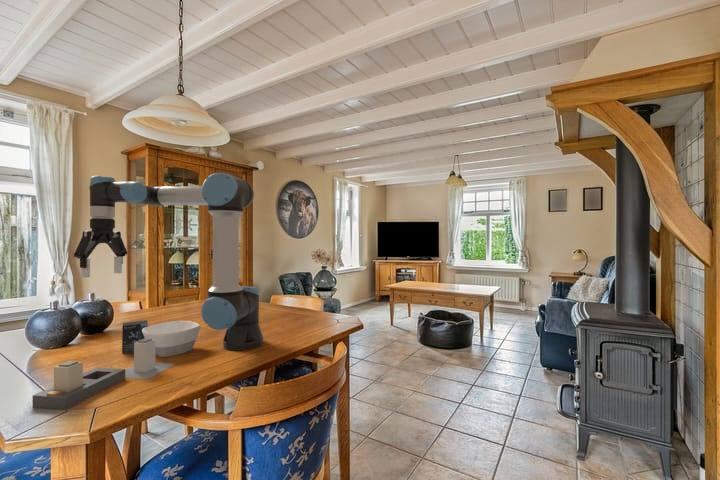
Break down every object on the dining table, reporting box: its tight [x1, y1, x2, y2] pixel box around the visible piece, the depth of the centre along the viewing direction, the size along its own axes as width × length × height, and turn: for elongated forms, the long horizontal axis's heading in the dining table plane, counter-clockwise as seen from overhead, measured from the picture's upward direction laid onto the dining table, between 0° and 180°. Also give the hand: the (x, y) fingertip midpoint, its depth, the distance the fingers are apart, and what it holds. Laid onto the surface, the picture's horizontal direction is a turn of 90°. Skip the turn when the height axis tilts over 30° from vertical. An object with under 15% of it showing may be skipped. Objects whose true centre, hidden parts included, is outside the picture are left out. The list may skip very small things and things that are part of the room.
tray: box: [125, 362, 175, 380], centre depth 107 cm, size 12×12×1 cm
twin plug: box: [53, 360, 84, 393], centre depth 88 cm, size 4×4×9 cm
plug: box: [133, 339, 156, 373], centre depth 107 cm, size 4×4×9 cm
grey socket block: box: [32, 367, 126, 411], centre depth 92 cm, size 9×18×4 cm, turn 173°
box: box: [121, 319, 149, 354], centre depth 126 cm, size 8×6×11 cm
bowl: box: [142, 320, 201, 358], centre depth 125 cm, size 18×18×9 cm
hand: (102, 275), depth 127 cm, fingers open, 13 cm apart
